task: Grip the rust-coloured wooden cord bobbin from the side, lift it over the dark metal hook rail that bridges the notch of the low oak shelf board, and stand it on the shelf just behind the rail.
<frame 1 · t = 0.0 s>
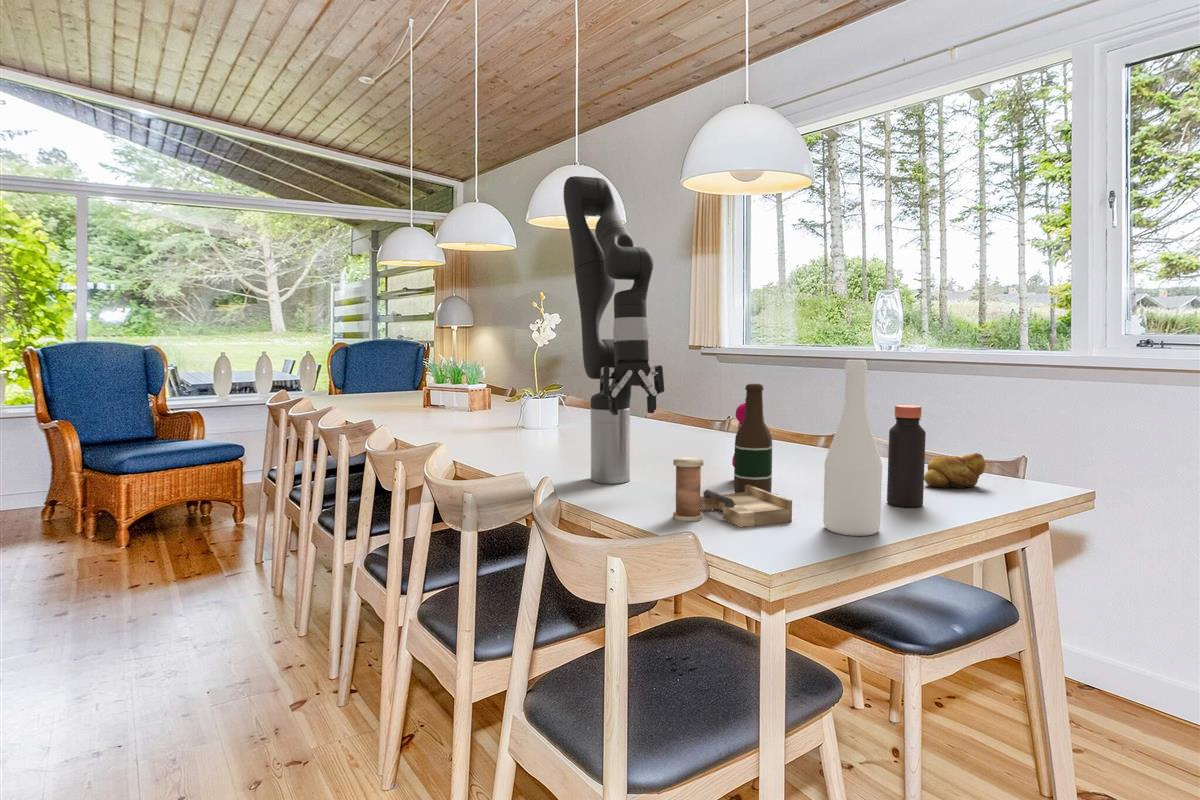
hand: (632, 414, 160), 17 cm above the table, tool pointing down, fingers open, 8 cm apart
vinegar: (904, 505, 149), on the table
beer bottle: (752, 497, 156), on the table
shelf: (744, 514, 141), on the table
wine bottle: (851, 531, 130), on the table
bobbin: (687, 517, 139), on the table
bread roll: (949, 486, 167), on the table
pepper mill: (747, 481, 173), on the table
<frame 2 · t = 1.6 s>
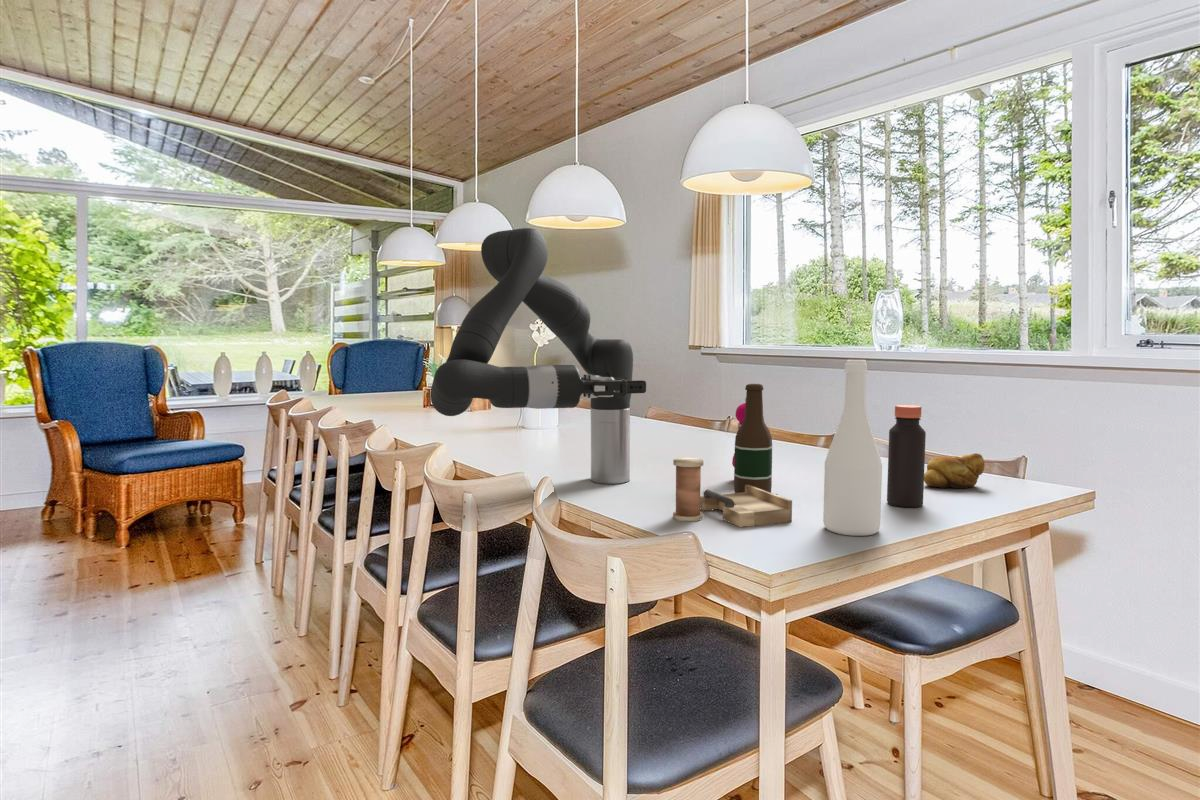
hand: (635, 385, 133), 25 cm above the table, tool horizontal, fingers open, 8 cm apart
nothing on the table moved.
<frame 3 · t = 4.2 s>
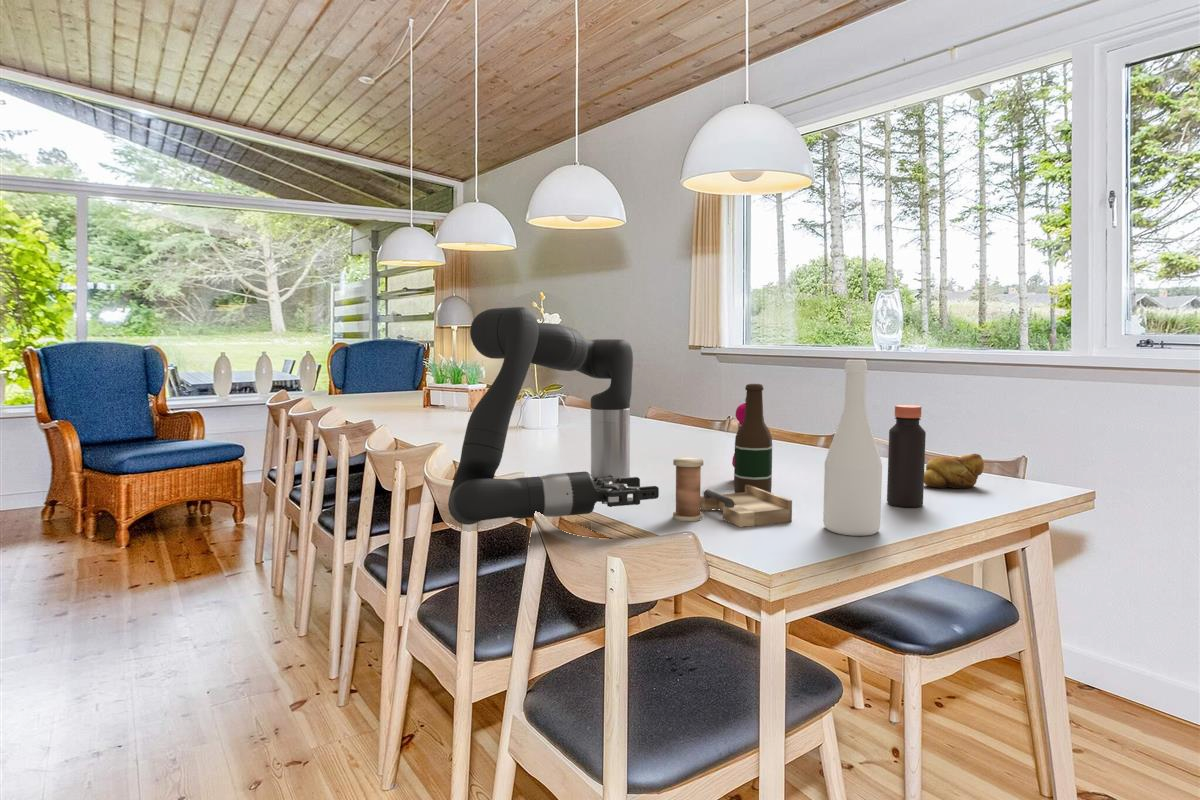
hand: (648, 487, 135), 6 cm above the table, tool horizontal, fingers open, 8 cm apart
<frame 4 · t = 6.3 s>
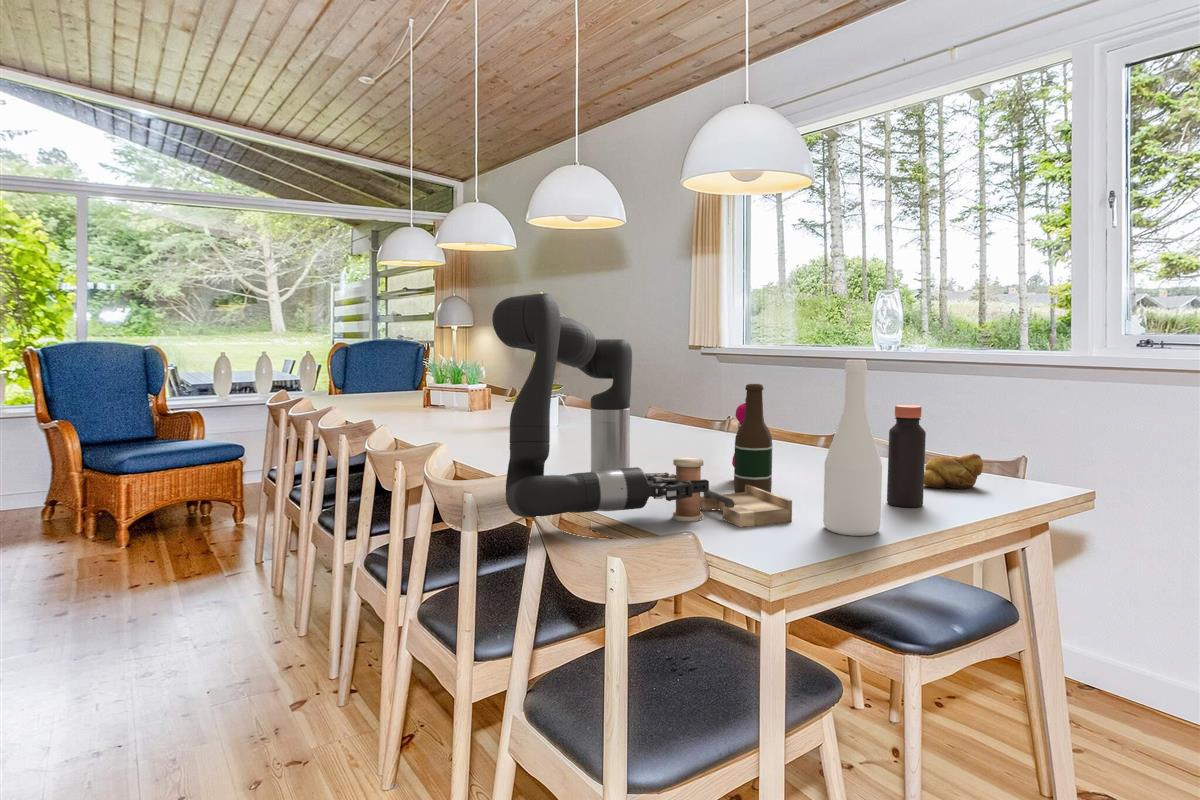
hand: (700, 482, 139), 7 cm above the table, tool horizontal, fingers closed on bobbin, 4 cm apart
bobbin: (687, 517, 139), on the table, touching gripper
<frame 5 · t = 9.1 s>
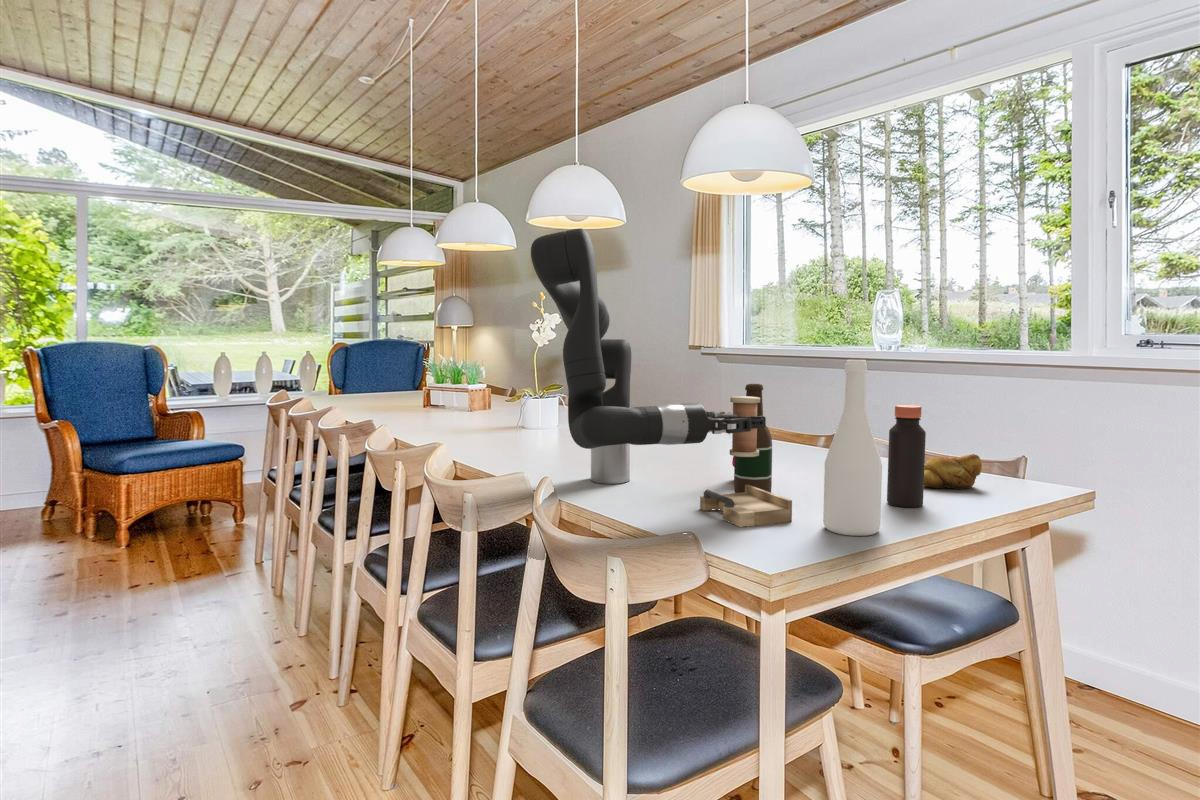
hand: (756, 420, 142), 18 cm above the table, tool horizontal, fingers closed on bobbin, 4 cm apart
bobbin: (744, 454, 142), point 11 cm above the table, touching gripper
when the fingers open (10 cm above the table, at t = 11.4 s): bobbin drops 1 cm, resting on shelf.
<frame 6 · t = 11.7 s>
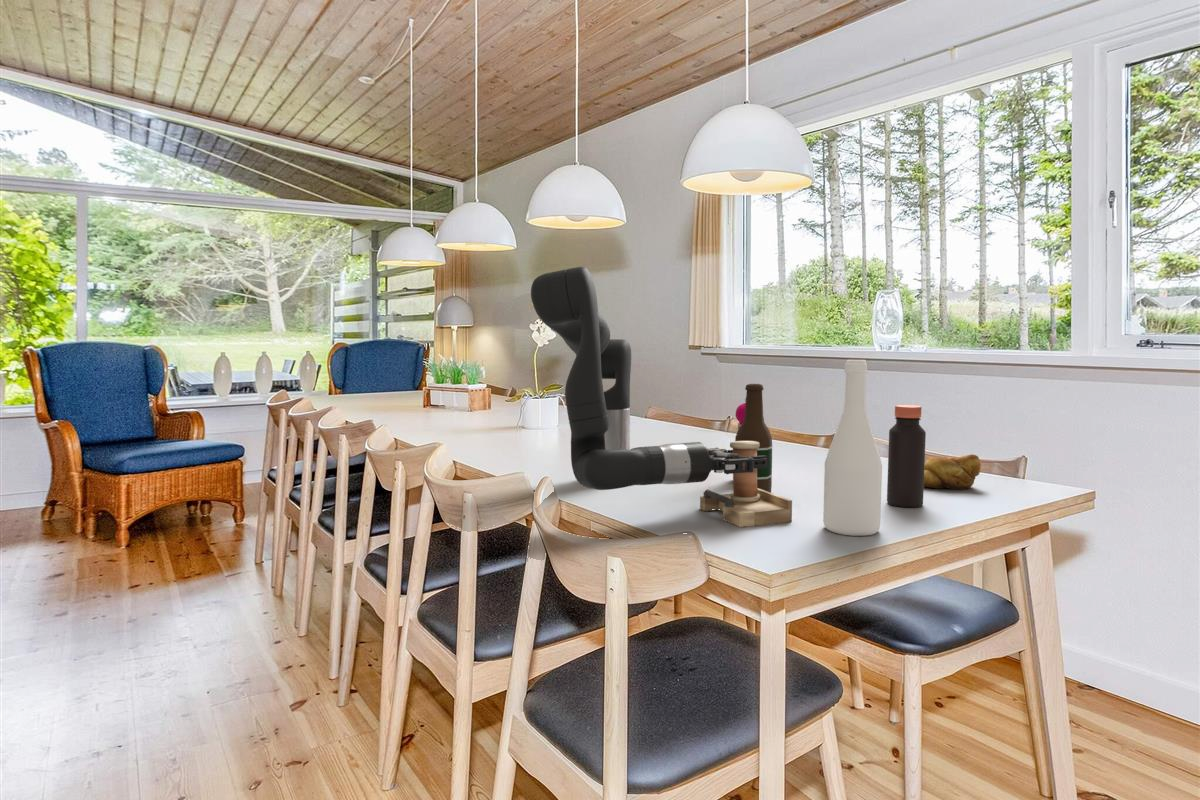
hand: (755, 457, 143), 10 cm above the table, tool horizontal, fingers open, 7 cm apart
bobbin: (745, 498, 143), point 3 cm above the table, touching shelf
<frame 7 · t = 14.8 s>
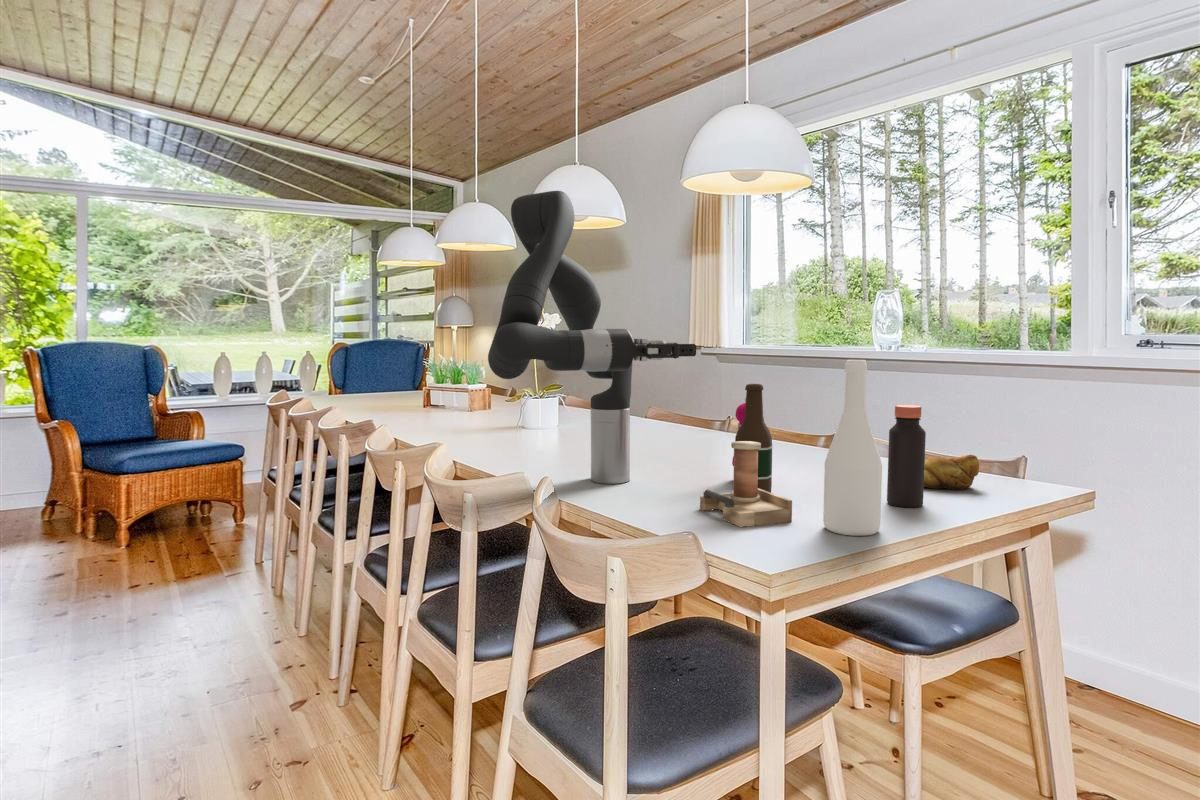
hand: (684, 349, 136), 32 cm above the table, tool horizontal, fingers open, 8 cm apart
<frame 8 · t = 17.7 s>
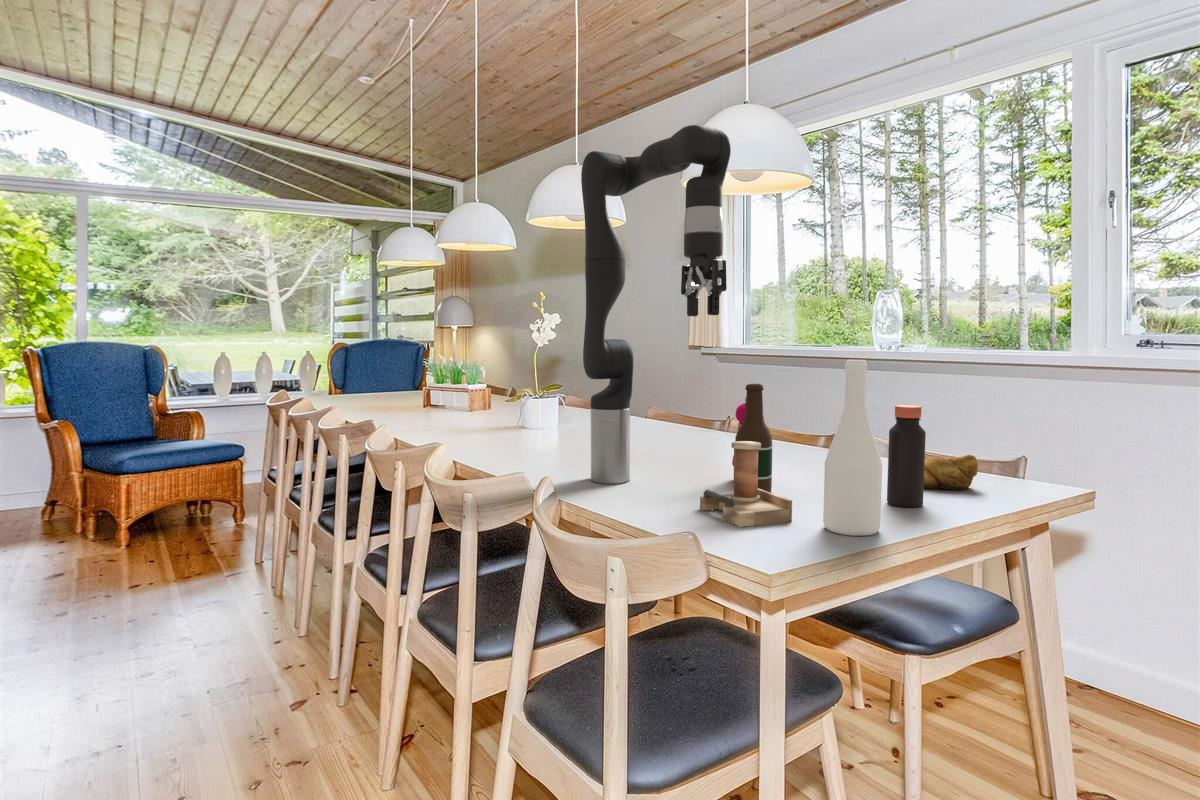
hand: (702, 315, 145), 38 cm above the table, tool pointing down, fingers open, 8 cm apart
at the end: bobbin 0.1 cm from the target spot on the shelf, point 2.5 cm above the shelf's base; bobbin tilted 0°; the gripper is holding nothing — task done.
